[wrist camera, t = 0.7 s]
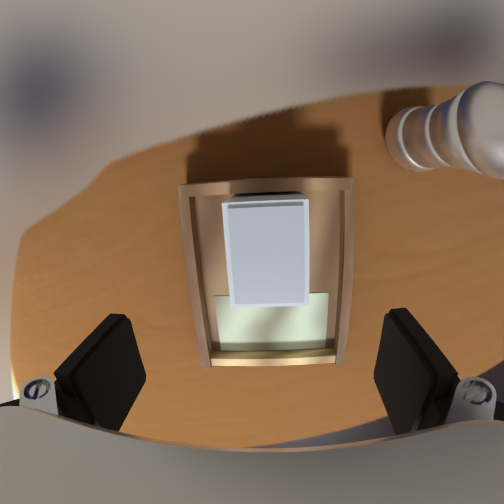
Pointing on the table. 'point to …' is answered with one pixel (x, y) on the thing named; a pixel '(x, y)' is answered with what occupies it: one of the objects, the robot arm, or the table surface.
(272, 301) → the grey block
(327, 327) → the bay
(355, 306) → the table surface
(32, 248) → the table surface
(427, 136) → the plastic bottle
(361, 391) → the table surface
